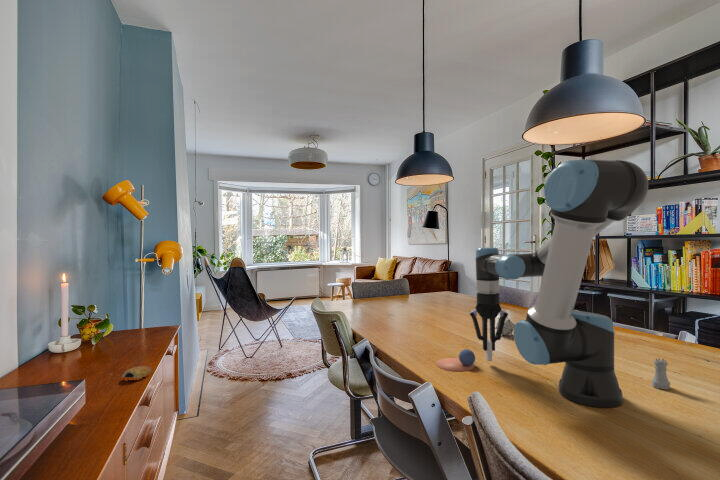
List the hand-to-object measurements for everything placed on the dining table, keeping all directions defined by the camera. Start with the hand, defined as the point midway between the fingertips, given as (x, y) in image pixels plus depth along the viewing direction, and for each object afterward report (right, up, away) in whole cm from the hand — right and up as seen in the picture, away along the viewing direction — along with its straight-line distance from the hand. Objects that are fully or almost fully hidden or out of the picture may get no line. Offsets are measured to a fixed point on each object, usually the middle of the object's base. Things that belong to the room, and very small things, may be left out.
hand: (489, 359), depth 128 cm
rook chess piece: (+43, -1, -21) cm, 48 cm away
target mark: (-11, -2, +1) cm, 12 cm away
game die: (+20, -1, +37) cm, 42 cm away
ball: (-8, +1, 0) cm, 8 cm away
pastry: (-120, -5, -3) cm, 120 cm away
